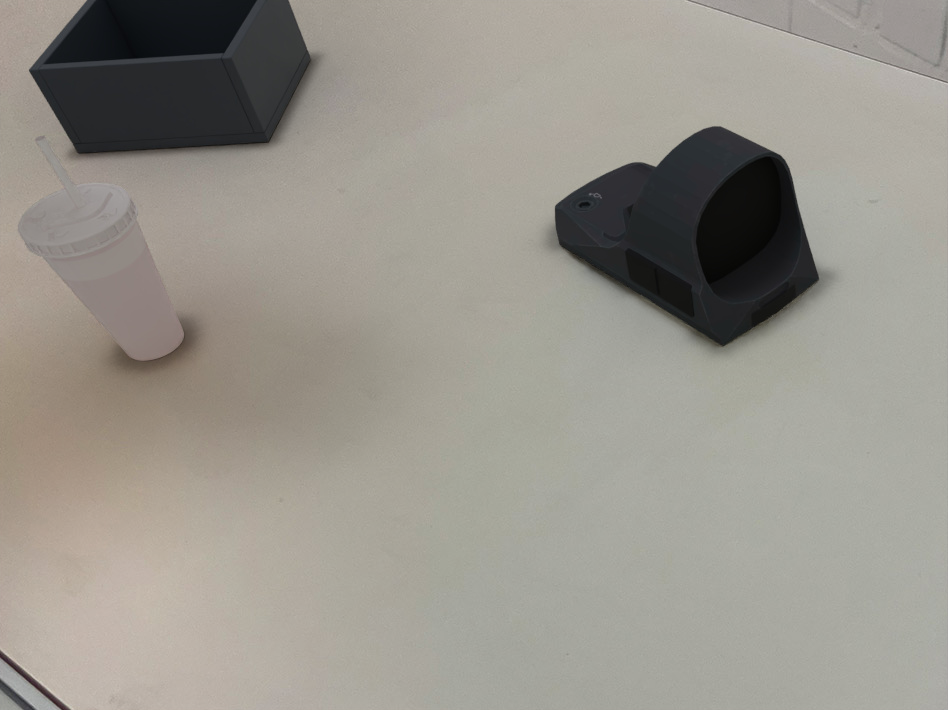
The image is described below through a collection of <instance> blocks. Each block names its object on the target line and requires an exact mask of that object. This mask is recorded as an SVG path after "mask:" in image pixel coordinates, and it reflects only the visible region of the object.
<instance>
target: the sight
mask: <svg viewBox="0 0 948 710" xmlns="http://www.w3.org/2000/svg"><path fill="white" fill-rule="evenodd" d="M799 207H800V206H799V203H798V198H797V193H796V188H795V183H794V180H793V176H792V171H791V169H790V166H789V164H788V163H787V161H786V159H785V158H784V157H783V156H782V155H781V154H779V153H777V152H775V151H773V150H771V149H769V148H767V147H765V146H762V145H760V144H758V143H756V142H754V141H752V140H751V139H748V138H746V137H744V136H742V135H740V134H738V133H736V132H734V131H732V130H730V129H727V128H726V127H723V126H720V125H713V126H712V125H711V126H708V127H705V128H702V129H700V130H698V131H696V132H694V133H693V134H691V135H689V136H688V137H686V138H685V139H683V140H682V141H681V142H680V143H678V144H677V145H676V146H674V147H673V148H672V149H671V150H670V152H668V153H667V154H666V155H665V156H664V157H663V158H662V159H661V160H660V162H659V163H658V164H657V165H656V166H655V165H653V164H649V163H646V162H641V161H634V162H629V163H626V164H624V165H622V166H621V165H620V166H619V167H617V168H615V169H613V170H610V171H608V172H606V173H604V174H602V175H600V176H598V177H596V178H594V179H593V180H590V181H588V182H587V183H585V184H584V185H582V186H580V187H579V188H577V189H575V190H574V191H572V192H570V193H569V194H568V195H566V196H565V197H564V198H562V199H561V200H560V201H559V202H557V203H556V204H555V206H554V223H555V231H556V234H557V240H558V243H559V245H560V246H561V247H563V248H565V249H566V250H568V251H569V252H571V253H573V254H574V255H576V256H578V257H579V258H580V259H582V260H584V261H585V262H587V263H588V264H590V265H592V266H594V267H595V268H597V269H598V270H600V271H601V272H603V273H605V274H606V275H608V276H609V277H611V278H613V279H614V280H616V281H617V282H619V283H620V284H623V286H626V287H627V288H629V289H630V290H632V291H633V292H635V293H637V294H639V295H640V296H642V298H645V299H646V300H648V301H650V302H651V303H653V304H655V306H658V307H659V308H661V309H662V310H664V311H665V312H668V313H669V314H671V315H672V316H674V317H675V318H677V319H678V320H680V321H681V322H683V323H685V324H687V325H688V326H690V327H691V328H693V329H694V330H696V331H698V332H699V333H701V334H702V335H704V336H706V337H707V338H709V339H710V340H712V341H714V342H715V343H716V344H718V345H720V346H722V347H723V346H726V345H728V344H729V343H730V342H732V341H734V340H735V339H737V338H739V337H741V336H742V335H743V334H745V333H747V332H748V331H750V330H752V329H753V328H755V327H757V326H759V325H760V324H761V323H763V322H765V321H766V320H768V319H769V318H771V317H773V316H774V315H775V314H777V313H778V312H779V311H781V310H782V309H784V308H785V307H786V306H787V305H789V304H790V303H791V302H792V301H794V300H795V299H796V298H797V297H799V296H800V295H802V294H803V293H804V292H805V291H807V290H808V289H809V288H810V287H812V286H813V285H814V284H815V283H817V282H818V281H819V280H820V275H819V273H818V270H817V266H816V262H815V259H814V256H813V253H812V249H811V246H810V243H809V239H808V236H807V232H806V229H805V225H804V222H803V218H802V215H801V214H802V213H801V211H800V208H799Z"/></svg>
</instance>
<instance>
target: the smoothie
mask: <svg viewBox="0 0 948 710" xmlns="http://www.w3.org/2000/svg"><path fill="white" fill-rule="evenodd" d="M34 142H35V143H36V145H37V146H38V148H39V149H40V150H41V153H42V154H43V156H44V157H45V160H46V161H47V162H48V164H49V165H50V167H51V168H52V170H53V172H54V174H55V175H56V177H57V178H58V179H59V182H60V183H61V185H62V186H63V188H61V189H59V190H56V191H54V192H52V193H50V194H47V195H46V196H44V197H42V198H40V199H39V200H38V201H36V202H35V203H33V204H32V205H31V206H30V207H28V208H27V209H26V210H25V212H24V213H23V214H22V215H21V217H20V219H19V221H18V224H17V232H18V235H19V236H20V238H21V239H22V241H23V243H24V245H25V247H26V248H27V250H28V252H30V253H32V254H33V255H35V256H37V257H41V258H42V259H43V260H44V261H45V262H46V263H47V265H48V266H49V267H50V269H52V271H53V272H54V273H55V274H56V275H57V276H58V277H59V278H60V280H61V281H62V282H63V283H64V284H65V285H66V287H68V289H69V290H70V291H71V292H72V293H73V295H74V296H76V298H77V299H78V300H79V301H80V302H81V303H82V305H83V306H84V307H85V308H86V310H87V311H88V312H89V313H90V314H91V315H92V316H93V317H94V319H95V320H96V321H97V322H98V323H99V324H100V325H101V327H103V329H104V330H105V331H106V332H107V333H108V335H109V336H110V337H111V338H112V339H113V340H114V342H116V343H117V345H118V346H119V347H120V348H121V349H122V351H123V352H124V353H125V354H126V355H127V356H128V357H129V358H130V359H133V360H136V361H142V362H143V361H144V362H145V361H146V362H147V361H153V360H156V359H160V358H163V357H165V356H167V355H169V354H171V353H172V352H174V351H175V350H176V349H177V348H179V347H180V345H181V344H182V343H183V341H184V338H185V331H184V330H183V326H182V324H181V322H180V320H179V316H178V314H177V312H176V309H175V307H174V304H173V303H172V300H171V298H170V295H169V292H168V290H167V289H166V286H165V284H164V281H163V279H162V276H161V274H160V272H159V269H158V267H157V265H156V262H155V260H154V258H153V254H152V252H151V250H150V248H149V245H148V243H147V241H146V238H145V236H144V233H143V230H142V227H141V226H140V224H139V222H138V220H137V219H138V217H139V210H138V205H137V204H136V203H135V202H134V201H133V199H132V197H131V195H130V193H129V192H128V191H127V190H126V189H125V188H124V187H122V186H120V185H117V184H114V183H110V182H87V183H86V182H85V183H80V184H75V182H74V181H73V180H72V178H71V176H70V175H69V173H68V171H67V170H66V168H65V167H64V165H63V163H62V162H61V160H60V158H59V157H58V156H57V154H56V152H55V151H54V149H53V147H52V145H51V144H50V141H48V138H47V137H46V136H45V135H39V136H36V137H35V138H34Z"/></svg>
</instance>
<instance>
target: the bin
mask: <svg viewBox="0 0 948 710" xmlns="http://www.w3.org/2000/svg"><path fill="white" fill-rule="evenodd" d="M291 5H292V4H291V2H290V0H86V1H84V3H82V5H81V7H80V8H79V9H78V10H77V11H76V13H74V15H73V16H72V18H71V19H69V21H68V22H67V23H66V24H65V26H64V27H63V28H62V29H61V31H60V32H58V34H57V35H56V37H55V38H54V39H53V40H52V41H51V43H50V44H48V46H47V47H46V49H45V50H44V51H43V52H42V53H41V54H40V56H39V57H38V58H37V59H36V61H35V62H34V63H33V64H31V65H32V66H30V67H29V69H28V71H29V74H30V75H31V77H32V79H33V80H34V82H35V84H36V86H37V87H38V89H39V90H40V92H41V94H42V96H43V97H44V99H45V100H46V102H47V104H48V105H49V108H50V109H51V111H52V112H53V114H54V116H55V117H56V119H57V120H58V122H59V124H60V126H61V127H62V129H63V131H64V132H65V134H66V136H67V137H68V139H69V141H70V142H71V144H72V146H73V147H74V149H75V151H76V152H77V154H83V153H102V152H120V151H135V150H136V151H137V150H152V149H154V150H155V149H169V148H172V149H173V148H186V147H187V148H188V147H203V146H204V147H205V146H222V145H223V146H224V145H237V144H255V143H268V142H270V139H271V137H272V135H273V134H274V132H275V130H276V128H277V126H278V124H279V122H280V120H281V118H282V116H283V114H284V112H285V110H286V108H287V107H288V104H289V102H290V100H291V98H292V96H293V95H294V92H295V91H296V89H297V86H298V84H299V83H300V81H301V79H302V77H303V75H304V74H305V71H306V69H307V67H308V65H309V64H310V61H311V59H312V58H311V54H310V52H309V50H308V48H307V45H306V42H305V39H304V36H303V33H302V31H301V28H300V26H299V24H298V22H297V21H298V20H297V19H296V18H297V17H296V16H295V13H294V9H293V8H292V6H291Z"/></svg>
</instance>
